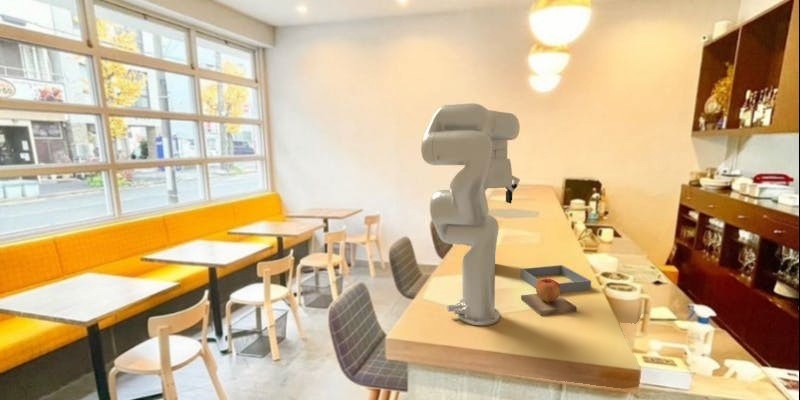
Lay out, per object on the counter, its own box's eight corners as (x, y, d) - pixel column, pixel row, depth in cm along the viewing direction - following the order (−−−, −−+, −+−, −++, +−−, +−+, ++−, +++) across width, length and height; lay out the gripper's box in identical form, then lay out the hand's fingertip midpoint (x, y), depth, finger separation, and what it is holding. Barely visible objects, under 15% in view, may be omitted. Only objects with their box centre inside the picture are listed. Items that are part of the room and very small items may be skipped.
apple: (547, 307, 116) (548, 282, 115) (530, 299, 123) (530, 275, 121) (565, 302, 119) (566, 278, 118) (547, 294, 126) (547, 271, 124)
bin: (544, 295, 129) (545, 285, 128) (520, 277, 146) (520, 268, 145) (590, 290, 132) (591, 280, 131) (561, 273, 149) (561, 264, 148)
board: (540, 315, 114) (540, 311, 114) (521, 299, 126) (521, 295, 126) (576, 311, 116) (576, 306, 116) (554, 296, 128) (554, 291, 128)
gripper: (476, 156, 127) (476, 206, 129) (524, 154, 130) (523, 203, 132) (468, 155, 134) (468, 203, 137) (514, 153, 137) (513, 200, 140)
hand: (495, 203), depth 134 cm, fingers open, 9 cm apart
